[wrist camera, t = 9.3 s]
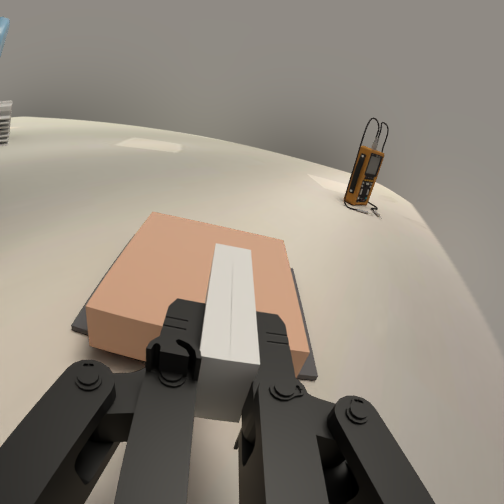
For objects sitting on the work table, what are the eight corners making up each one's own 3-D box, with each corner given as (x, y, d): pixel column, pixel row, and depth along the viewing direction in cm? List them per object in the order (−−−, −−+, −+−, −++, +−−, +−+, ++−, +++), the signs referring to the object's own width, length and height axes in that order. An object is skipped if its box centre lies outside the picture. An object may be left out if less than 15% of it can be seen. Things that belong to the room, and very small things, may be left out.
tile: (309, 352, 16) (283, 240, 28) (85, 305, 14) (152, 211, 27) (289, 389, 17) (273, 271, 30) (90, 349, 16) (148, 244, 28)
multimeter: (371, 221, 58) (405, 125, 50) (333, 200, 64) (361, 111, 56) (398, 218, 68) (426, 140, 59) (364, 201, 74) (389, 126, 65)
